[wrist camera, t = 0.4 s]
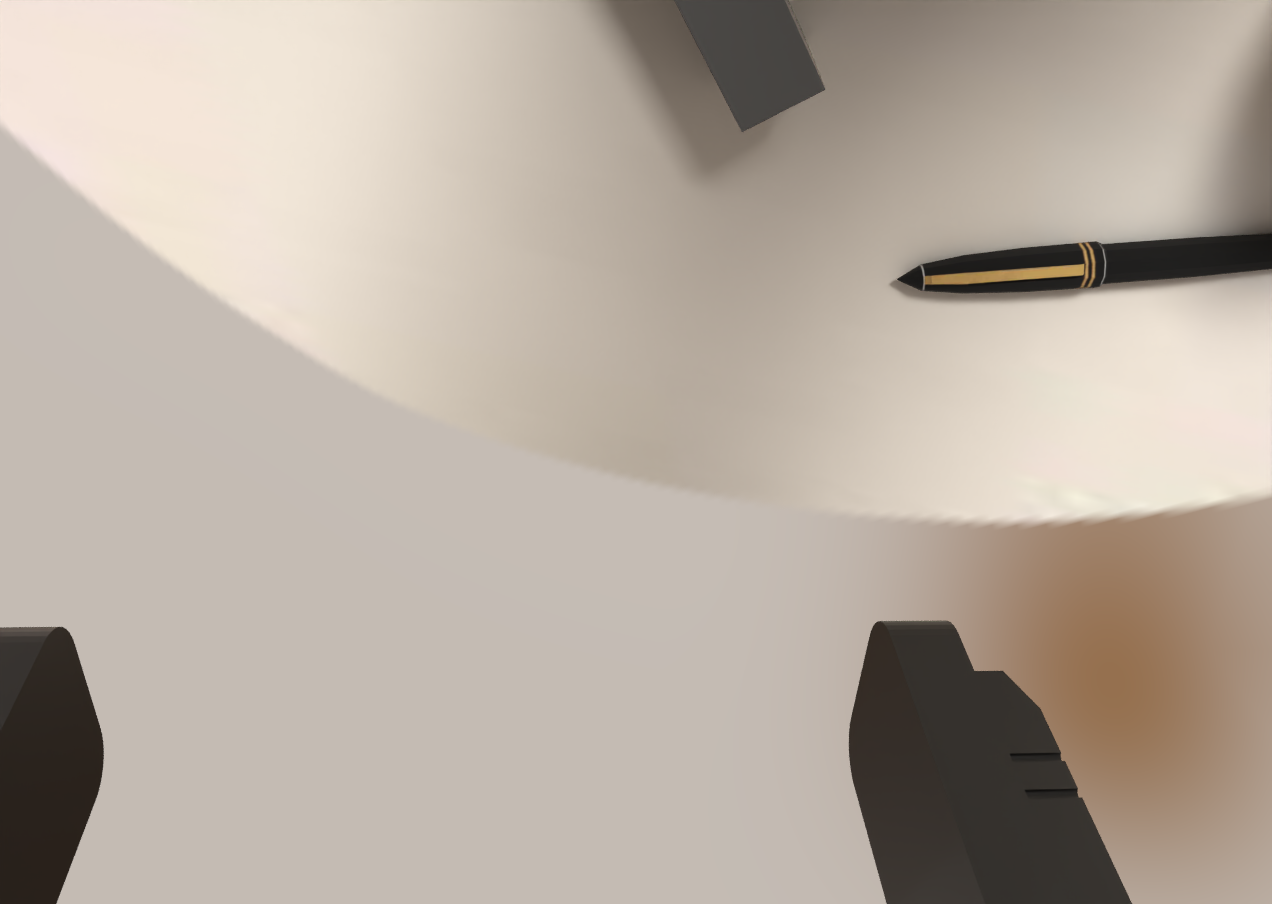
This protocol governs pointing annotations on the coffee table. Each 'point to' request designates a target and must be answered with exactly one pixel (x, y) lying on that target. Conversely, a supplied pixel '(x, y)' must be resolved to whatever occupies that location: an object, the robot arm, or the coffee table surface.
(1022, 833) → the robot arm
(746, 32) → the plug
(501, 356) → the coffee table surface
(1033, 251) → the fountain pen
